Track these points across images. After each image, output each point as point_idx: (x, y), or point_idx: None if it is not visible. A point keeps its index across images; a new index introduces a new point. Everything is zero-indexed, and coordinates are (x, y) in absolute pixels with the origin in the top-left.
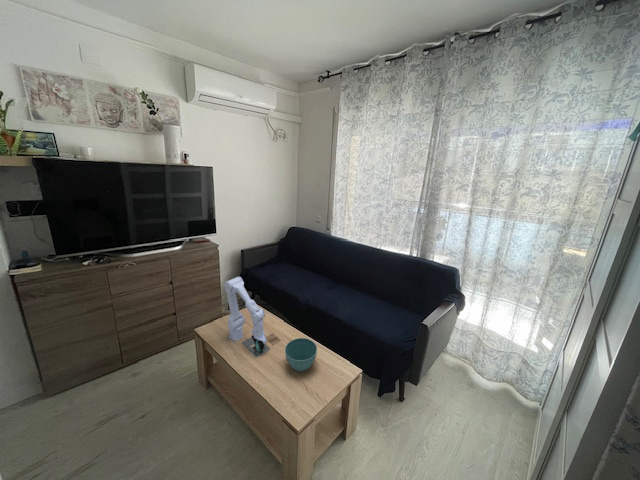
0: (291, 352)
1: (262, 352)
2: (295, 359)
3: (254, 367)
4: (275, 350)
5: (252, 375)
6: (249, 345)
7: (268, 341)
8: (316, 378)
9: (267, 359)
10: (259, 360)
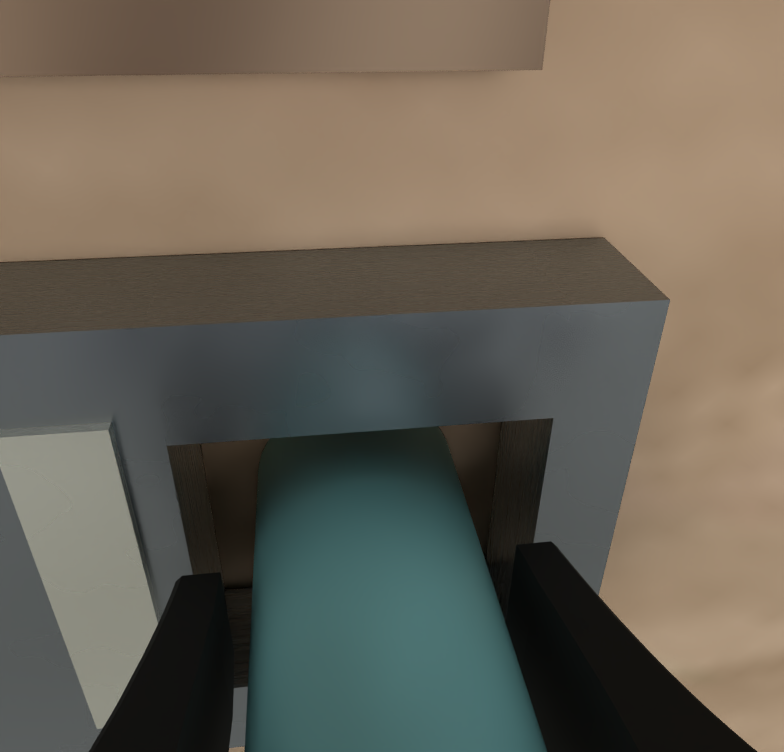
0: None
1: (601, 566)
2: None
3: None
4: (714, 58)
5: (774, 741)
6: (36, 720)
7: (142, 53)
8: None
9: (755, 442)
10: (614, 577)
